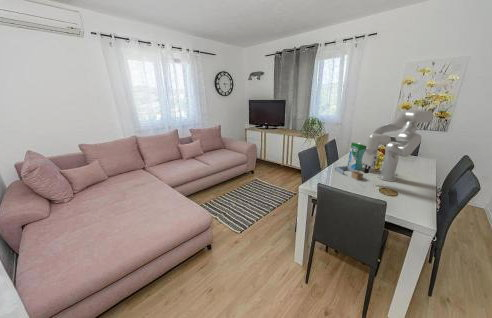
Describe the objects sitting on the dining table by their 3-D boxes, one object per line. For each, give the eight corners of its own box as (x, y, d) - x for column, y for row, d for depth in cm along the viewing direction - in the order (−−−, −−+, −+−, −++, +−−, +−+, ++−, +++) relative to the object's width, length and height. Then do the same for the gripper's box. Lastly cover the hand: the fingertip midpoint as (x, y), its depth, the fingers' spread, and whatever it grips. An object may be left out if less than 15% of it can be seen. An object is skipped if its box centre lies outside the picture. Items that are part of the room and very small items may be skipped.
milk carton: (362, 168, 187) (367, 143, 179) (355, 170, 184) (360, 144, 176) (354, 165, 195) (358, 141, 187) (347, 167, 192) (351, 142, 183)
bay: (346, 169, 186) (347, 165, 185) (354, 173, 177) (355, 169, 176) (334, 170, 183) (335, 166, 182) (342, 174, 174) (343, 170, 173)
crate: (356, 176, 171) (358, 171, 169) (362, 179, 165) (363, 173, 163) (351, 177, 169) (352, 171, 168) (356, 180, 164) (357, 174, 162)
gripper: (383, 153, 145) (377, 176, 150) (367, 148, 158) (362, 169, 164) (375, 153, 143) (369, 177, 149) (359, 148, 156) (354, 169, 162)
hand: (365, 172), depth 156 cm, fingers closed
